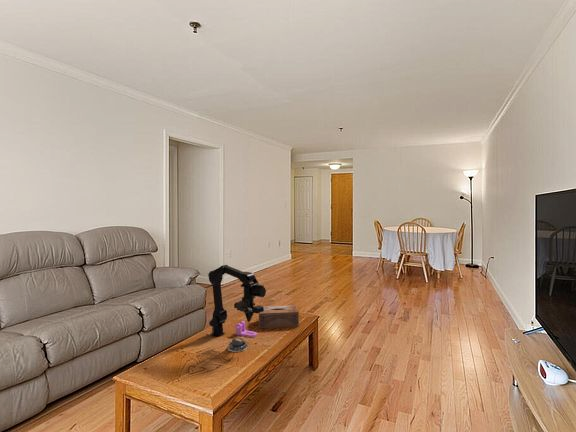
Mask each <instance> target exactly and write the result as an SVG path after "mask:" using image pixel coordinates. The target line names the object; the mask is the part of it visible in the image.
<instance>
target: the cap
mask: <svg viewBox="0 0 576 432" xmlns="http://www.w3.org/2000/svg"><path fill="white" fill-rule="evenodd" d="M243 341H244V339H243V338H242V337H234V338H233V339H231V342H232V346H233V347H240V346H243Z"/></svg>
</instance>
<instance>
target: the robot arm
mask: <svg viewBox="0 0 576 432" xmlns="http://www.w3.org/2000/svg"><path fill="white" fill-rule="evenodd" d="M225 274H226V275H229V276H231V277H234V278H236V279H238V280H239V282H241V283H242V284H241V285H240V287H241V288H243V296H242V297H241V300H239V301H236V302H235V303H234V304H233V305H234V306H233V308H234V309H236V311H240V312H243V314H244V315H245V318H246V321H247V322H248V323H250V322H251V321H252V318H253V316H254V314H259V313H260V312H263V311H264V307H263V306H262V305H258V304H257V305H256V303H255V301H254V299H256V297H258V298H264V297H265V296H266V294H267V289H266V287H264V286H265V285H264V284H260V283H259V281H258V279H257V278H256V276H255V273H253V272H252V271H242V270H239V269H237V268H234V267H231V266H230V265H228V264H223V265H220V266H219V267H217V268H216V269H214V270H210V271H209V273H207V275H208V281H209V283H210V285H212V293H213V294H212V295H213V303H214V304H213V306H214V309H213V312H212V318H211V319H210V321H208V324H209V326H210V327H211V329H212V330H211V333H209V334H210V336H213V337H215V338H216V337H221V336H222V335H223V336H224V335H225V334H226V333H225V332H224V326H223V324H225V323H226V320H227V319H228V310H227V309H225V308H224V305H223V294H222V281H223V279H224V278H223V275H225Z"/></svg>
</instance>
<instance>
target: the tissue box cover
mask: <svg viewBox="0 0 576 432" xmlns="http://www.w3.org/2000/svg"><path fill="white" fill-rule="evenodd" d="M263 307H264V311H263V312H260V313H258V329H273V328H276V327H279V328H296V327H299V319H300V318H299V309H298V307H297V305H293V304H292V305H270V306H269V305H267V306H263Z"/></svg>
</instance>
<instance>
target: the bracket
mask: <svg viewBox="0 0 576 432" xmlns="http://www.w3.org/2000/svg"><path fill="white" fill-rule="evenodd" d="M246 325H247V324H246V322H245V321H244V320H242V321H240V322H239V323H236V324H235V335H237V336H242V337H246V338H255V337H257V336H258V333H257V332H256V331H252V330H247V328H246Z"/></svg>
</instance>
